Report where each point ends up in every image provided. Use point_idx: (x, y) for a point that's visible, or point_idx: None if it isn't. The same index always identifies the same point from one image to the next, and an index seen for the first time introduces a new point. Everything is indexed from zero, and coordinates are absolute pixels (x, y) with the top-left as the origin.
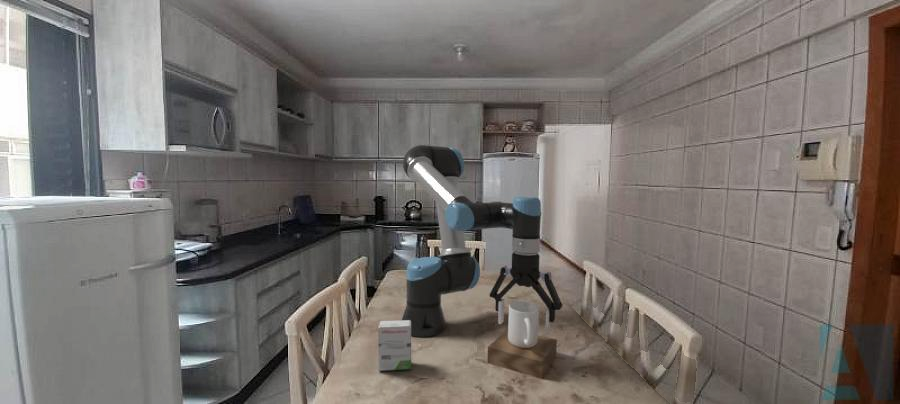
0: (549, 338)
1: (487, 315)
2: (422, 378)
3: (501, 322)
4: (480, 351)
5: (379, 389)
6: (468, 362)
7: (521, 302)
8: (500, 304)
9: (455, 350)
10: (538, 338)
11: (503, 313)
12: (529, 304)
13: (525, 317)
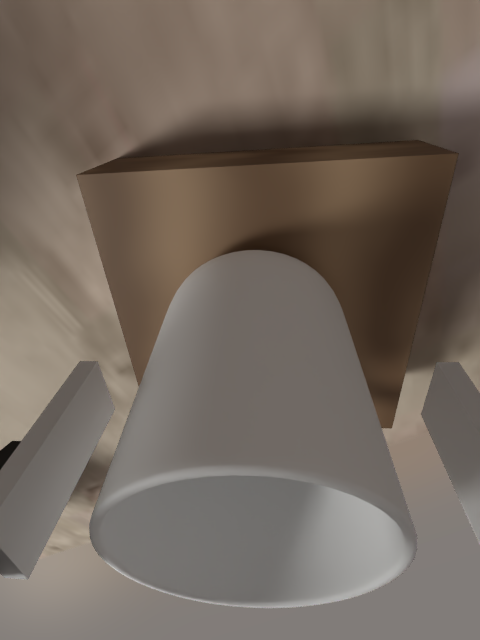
0: (400, 167)
1: None
2: (92, 490)
3: (108, 401)
4: (91, 319)
5: (67, 533)
6: (118, 398)
7: (156, 469)
8: (37, 549)
9: (23, 357)
10: (324, 215)
11: (72, 418)
12: (258, 446)
13: (305, 559)
